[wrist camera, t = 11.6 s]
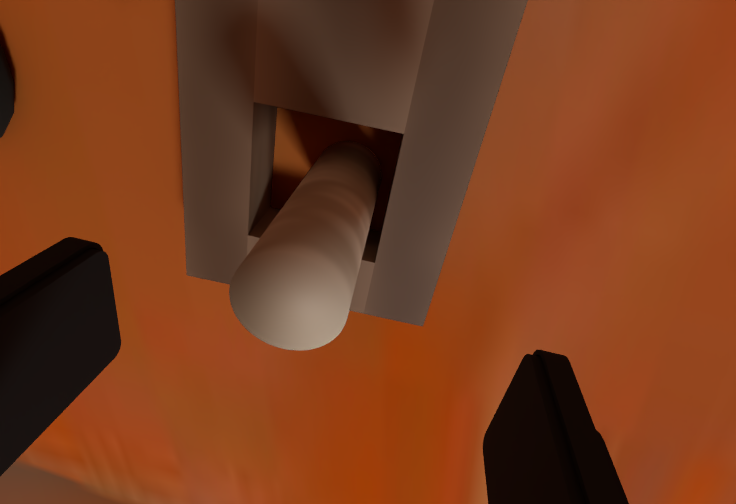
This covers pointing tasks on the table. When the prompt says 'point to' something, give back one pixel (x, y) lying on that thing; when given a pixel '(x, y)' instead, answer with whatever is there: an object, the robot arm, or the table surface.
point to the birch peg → (310, 253)
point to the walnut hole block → (341, 102)
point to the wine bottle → (5, 93)
